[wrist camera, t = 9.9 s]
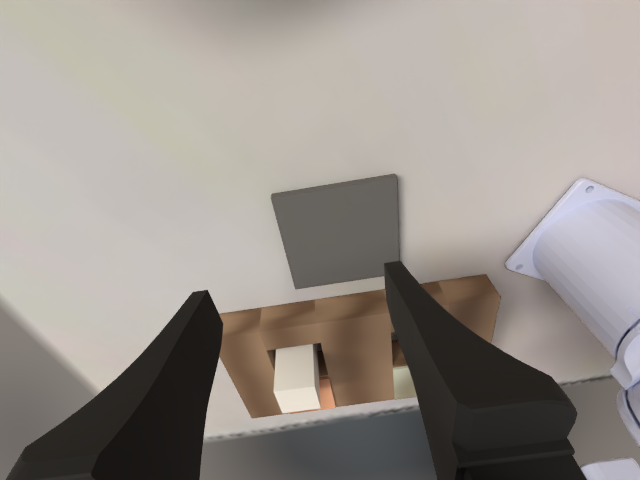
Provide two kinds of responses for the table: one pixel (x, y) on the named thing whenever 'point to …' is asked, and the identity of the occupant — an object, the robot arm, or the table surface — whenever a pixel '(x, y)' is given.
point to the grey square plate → (339, 230)
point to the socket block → (342, 343)
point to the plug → (297, 378)
